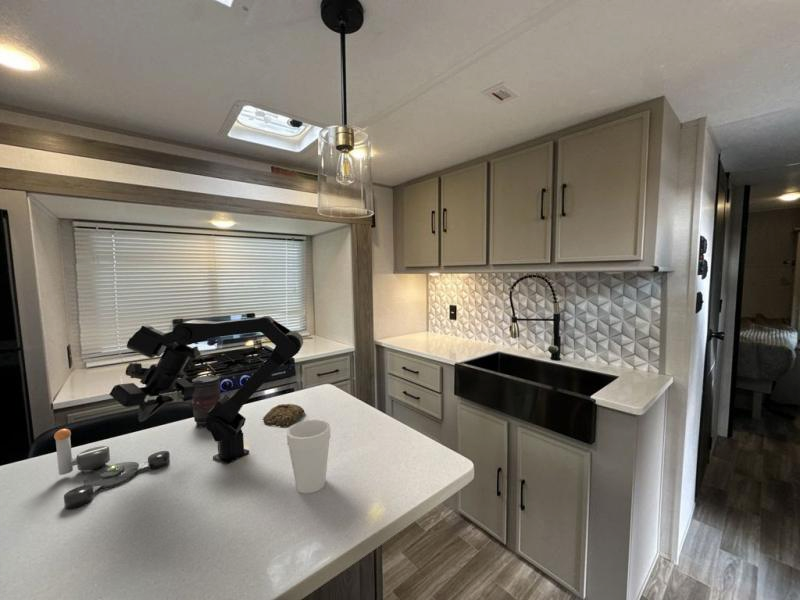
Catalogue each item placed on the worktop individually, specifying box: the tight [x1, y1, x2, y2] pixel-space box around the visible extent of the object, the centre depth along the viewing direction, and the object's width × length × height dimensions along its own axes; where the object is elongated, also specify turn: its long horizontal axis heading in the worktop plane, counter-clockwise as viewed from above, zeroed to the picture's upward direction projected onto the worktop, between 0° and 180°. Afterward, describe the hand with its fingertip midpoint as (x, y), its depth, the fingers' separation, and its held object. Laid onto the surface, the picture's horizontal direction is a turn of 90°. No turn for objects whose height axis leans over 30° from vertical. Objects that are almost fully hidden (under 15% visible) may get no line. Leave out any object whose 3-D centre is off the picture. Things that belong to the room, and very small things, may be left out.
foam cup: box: [286, 419, 331, 494], centre depth 74 cm, size 10×9×13 cm
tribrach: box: [63, 450, 171, 511], centre depth 80 cm, size 18×20×3 cm
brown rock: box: [262, 403, 305, 427], centre depth 111 cm, size 13×12×5 cm
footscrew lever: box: [53, 428, 111, 476], centre depth 82 cm, size 9×6×11 cm, turn 133°
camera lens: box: [191, 375, 221, 428], centre depth 108 cm, size 8×8×15 cm
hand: (140, 420), depth 84 cm, fingers closed
